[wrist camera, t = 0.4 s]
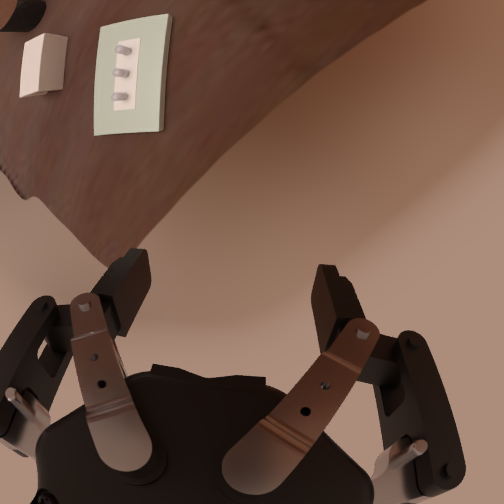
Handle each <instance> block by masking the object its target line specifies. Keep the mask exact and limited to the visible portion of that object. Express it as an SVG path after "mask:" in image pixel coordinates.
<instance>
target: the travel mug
mask: <svg viewBox="0 0 504 504" xmlns="http://www.w3.org/2000/svg"><path fill="white" fill-rule="evenodd" d="M45 8H46V5H45V2H44V1H41V0H0V32H28V31H30V30H32V29H33V28H34V27H35V26H36V25H37V24H38V23H39V22H40V20H41V19H42V17H43V15H44V12H45Z"/></svg>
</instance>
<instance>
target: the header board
mask: <svg viewBox="0 0 504 504" xmlns="http://www.w3.org/2000/svg"><path fill="white" fill-rule="evenodd" d="M172 20H173V17H172V16H171V15H170V14H162V15H155V16H149V17H143V18H138V19H133V20H128V21H123V22H119V23H115V24H111V25H107V26H103V27H101V30H100V36H99V44H98V52H97V62H96V74H95V91H94V136H95V135H105V134H117V133H132V132H156V131H162V130H164V107H165V88H166V74H167V63H168V52H169V43H170V35H171V27H172Z"/></svg>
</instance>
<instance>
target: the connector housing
mask: <svg viewBox="0 0 504 504" xmlns="http://www.w3.org/2000/svg"><path fill="white" fill-rule="evenodd" d="M67 41H68V37H66V36H61V35H54V34H48V33H44V34H42V35H39V36H37V37H35V38H33V39H31V40H30V41H28V42H26V43H25V46H24V53H23V60H22V70H21V82H20V98H21V97H28V96H35V95H44V94H47V93H48V91H52V90H60V89H63V79H64V66H65V56H66V48H67Z"/></svg>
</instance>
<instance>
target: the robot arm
mask: <svg viewBox="0 0 504 504" xmlns="http://www.w3.org/2000/svg"><path fill="white" fill-rule="evenodd" d="M150 286H151V272H150V266H149V259H148V253H147V250H145V249H136V248H131V249H130V250H129V251H128V252H127V253H126V255H125V256H124V257H120V258H119V259H117V260H116V261H114V262H113V263H112V264H111V265H110V267H109V268H108V270H107V271H106V272H105V273H104V276H102V277H101V279H100V280H99V281H98V283H97V284H96V285H95V287H94V288H93V289H92V291H91V292H90V293H83V294H80V295H78V296H77V297H75V298H74V299H73V300H72V302H71V304H70V305H57V304H56V302H55V299H54V298H53V297H51V296H42V297H39V298H37V299H36V300H35V301H33V303H32V304H31V305H30V307H29V308H28V309H27V311H26V312H25V314H24V315H23V316H22V318H21V320H20V321H19V322H18V324H17V325H16V327H15V328H14V330H13V331H12V333H11V334H10V336H9V337H8V339H7V341H6V342H5V344H4V345H3V347H2V349H1V350H0V442H1V443H2V444H3V445H5V446H6V447H8V448H9V449H12V450H13V451H14V452H16V453H17V454H19V455H20V456H23V457H31V458H33V459H35V460H36V464H37V472H38V489H37V493H36V496H35V497H34V499H33V500H32V502H31V503H30V504H416V503H419V502H422V501H424V500H427V499H430V498H432V497H435V496H437V495H440V494H442V493H444V492H447V491H449V490H451V489H453V488H455V487H457V486H458V485H459V484H460V483H461V482H462V480H463V478H464V476H465V472H466V465H465V460H464V455H463V451H462V447H461V443H460V438H459V434H458V431H457V427H456V423H455V420H454V417H453V413H452V410H451V407H450V404H449V401H448V397H447V394H446V392H445V389H444V386H443V383H442V380H441V378H440V375H439V372H438V369H437V367H436V364H435V362H434V359H433V357H432V354H431V352H430V349H429V347H428V345H427V342H426V340H425V339H424V338H423V337H422V336H421V335H420V334H418V333H416V332H414V331H409V330H408V331H403V332H402V333H400V335H399V336H398V338H394V337H390V336H386V335H382V334H380V332H379V329H378V328H377V326H376V325H375V324H374V323H372V322H370V321H369V320H366V318H365V315H364V313H363V310H362V307H361V305H360V302H359V300H358V299H357V295H356V293H355V290H354V287H353V285H352V283H351V282H350V281H349V280H348V279H347V278H346V277H343V276H339V273H338V270H337V268H336V266H335V265H324V264H319V266H318V268H317V273H316V277H315V281H314V285H313V289H312V294H311V304H312V310H313V315H314V320H315V325H316V331H317V336H318V342H319V347H320V353H321V355H320V356H319V357H318V358H317V360H316V361H315V362H314V364H313V365H312V366H311V367H310V368H309V370H308V371H307V372H306V373H305V374H304V376H303V377H302V378H301V379H300V380H299V381H298V383H297V384H296V385H295V386H294V387H293V388H292V390H291V391H290V392H289V393H288V394H285V393H284V392H282V391H280V390H278V389H276V388H273V387H271V386H267V385H266V377H255V376H242V375H234V376H225V377H216V378H204V377H201V376H198V375H196V374H193V373H190V372H188V371H185V370H182V369H180V368H175V367H168V366H163V365H157V364H153V365H152V369H151V371H147V372H141V373H137V374H133V375H130V376H128V375H127V373H126V370H125V368H124V365H123V362H122V360H121V357H120V354H119V352H118V349H117V346H116V343H115V338H116V336H117V335H118V336H123V337H126V335H127V333H128V331H129V328H130V327H131V325H132V323H133V321H134V318H135V317H136V314H137V313H138V311H139V309H140V307H141V305H142V303H143V301H144V299H145V297H146V295H147V293H148V291H149V289H150ZM44 339H45V341H46V343H47V345H46V347H45V348H44V350H43V352H42V354H41V356H40V358H39V360H38V357H37V353H38V349H39V347H40V345H41V344H42V342H43V340H44ZM72 356H73V357H74V362H75V367H76V372H77V376H78V380H79V384H80V388H81V393H82V396H83V400H84V405H82V406H81V407H79V408H77V409H76V410H74V411H73V412H71V413H70V414H68V415H66V416H65V417H63V418H61V419H60V420H58V421H56V422H55V423H53V424H51V425H50V415H49V410H50V407H51V404H52V402H53V400H54V397H55V395H56V392H57V390H58V387H59V385H60V383H61V380H62V378H63V376H64V373H65V371H66V369H67V367H68V365H69V362H70V360H71V358H72ZM356 381H360V382H365V383H369V384H373V388H374V393H375V398H376V403H377V409H378V415H379V420H380V427H381V433H382V440H383V447H384V451H383V452H382V453H381V454H380V455H379V456H378V458H377V459H376V461H375V468H374V473H373V476H372V477H371V478H370V477H369V475H368V474H367V473H366V471H364V469H362V468H361V467H360V466H359V465H358V464H357V463H356V462H355V461H354V460H353V459H352V458H350V456H348V454H346V453H345V452H344V451H343V450H342V449H341V448H340V447H339V446H338V445H337V444H336V443H335V442H334V441H333V440H332V439H331V438H330V437H329V436H328V435H327V434H326V433H325V432H324V429H325V428H326V426H327V425H328V424H329V422H330V421H331V419H332V418H333V416H334V415H335V413H336V412H337V410H338V409H339V407H340V406H341V404H342V403H343V401H344V400H345V398H346V396H347V395H348V393H349V392H350V390H351V388H352V387H353V385H354V383H355V382H356Z"/></svg>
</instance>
